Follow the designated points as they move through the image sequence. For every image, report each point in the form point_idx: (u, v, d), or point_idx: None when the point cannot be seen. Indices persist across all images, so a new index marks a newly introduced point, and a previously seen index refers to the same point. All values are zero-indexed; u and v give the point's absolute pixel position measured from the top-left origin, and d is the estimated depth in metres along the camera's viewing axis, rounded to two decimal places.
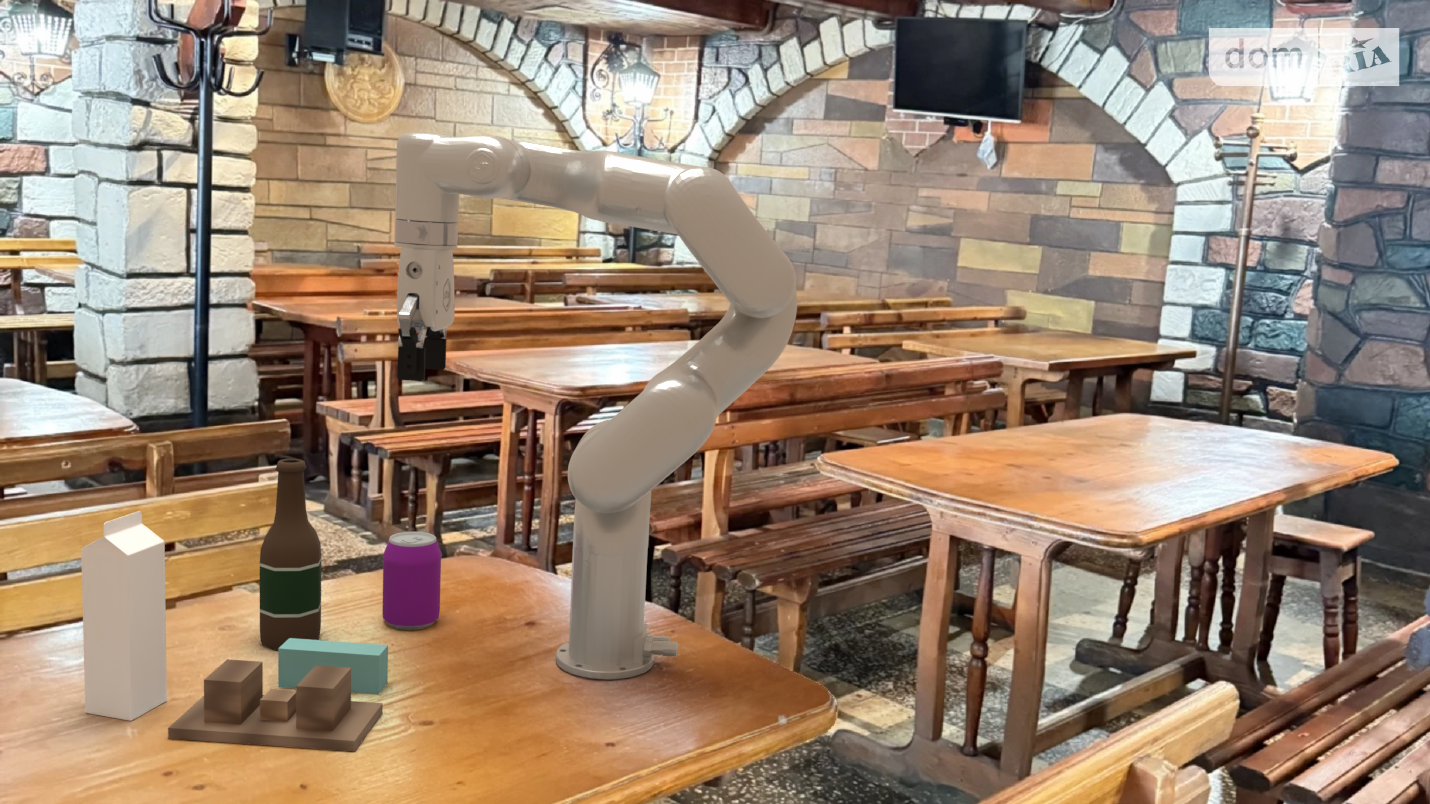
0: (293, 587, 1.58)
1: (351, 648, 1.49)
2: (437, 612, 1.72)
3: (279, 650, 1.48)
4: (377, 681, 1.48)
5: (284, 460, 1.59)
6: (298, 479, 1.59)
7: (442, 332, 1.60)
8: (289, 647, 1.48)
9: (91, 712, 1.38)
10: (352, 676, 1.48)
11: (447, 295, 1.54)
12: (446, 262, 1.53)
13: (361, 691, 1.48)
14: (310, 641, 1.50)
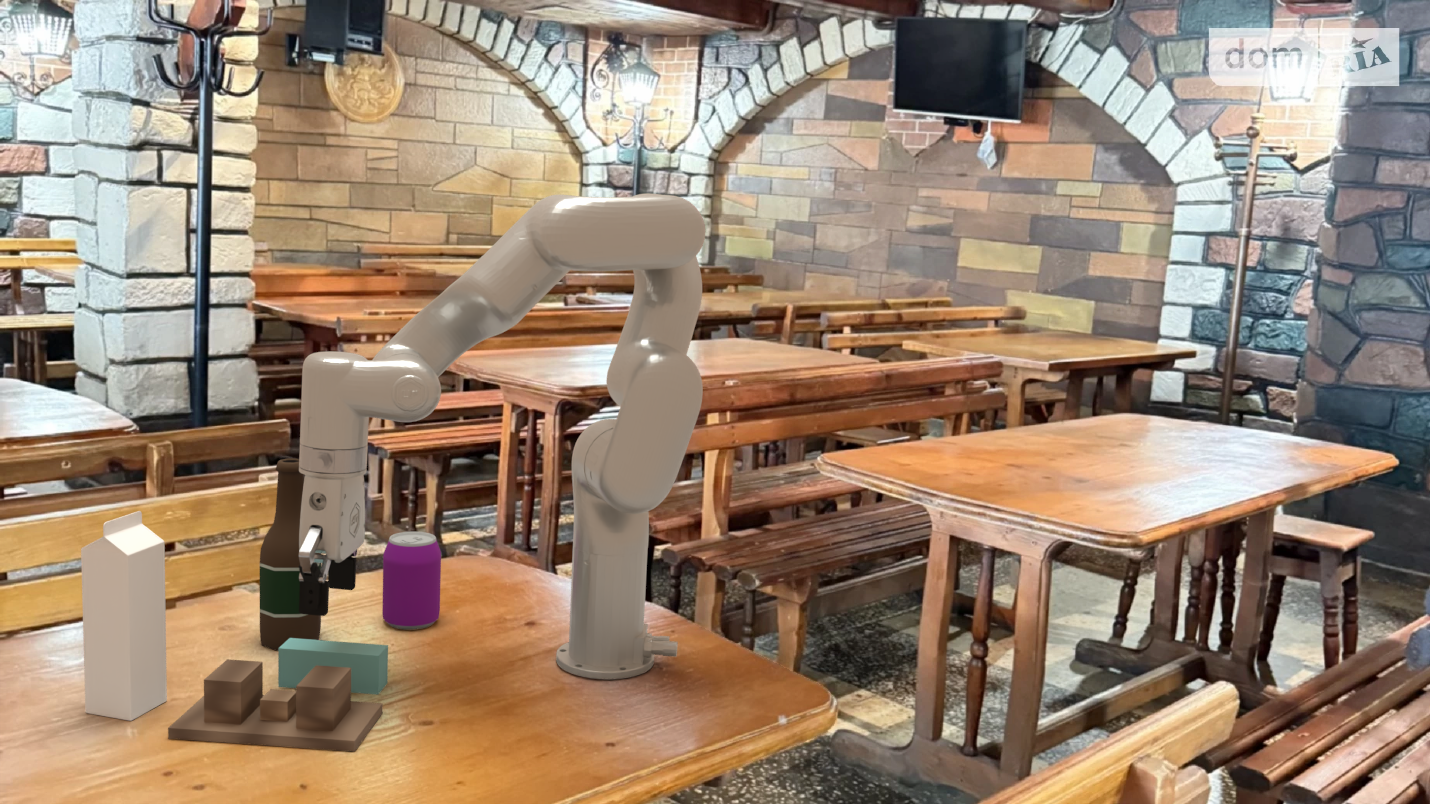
0: (293, 587, 1.58)
1: (351, 648, 1.49)
2: (437, 612, 1.72)
3: (279, 650, 1.48)
4: (377, 681, 1.48)
5: (284, 460, 1.59)
6: (298, 479, 1.59)
7: None
8: (289, 647, 1.48)
9: (91, 712, 1.38)
10: (351, 677, 1.48)
11: (355, 520, 1.46)
12: (354, 487, 1.45)
13: (361, 691, 1.48)
14: (310, 641, 1.50)
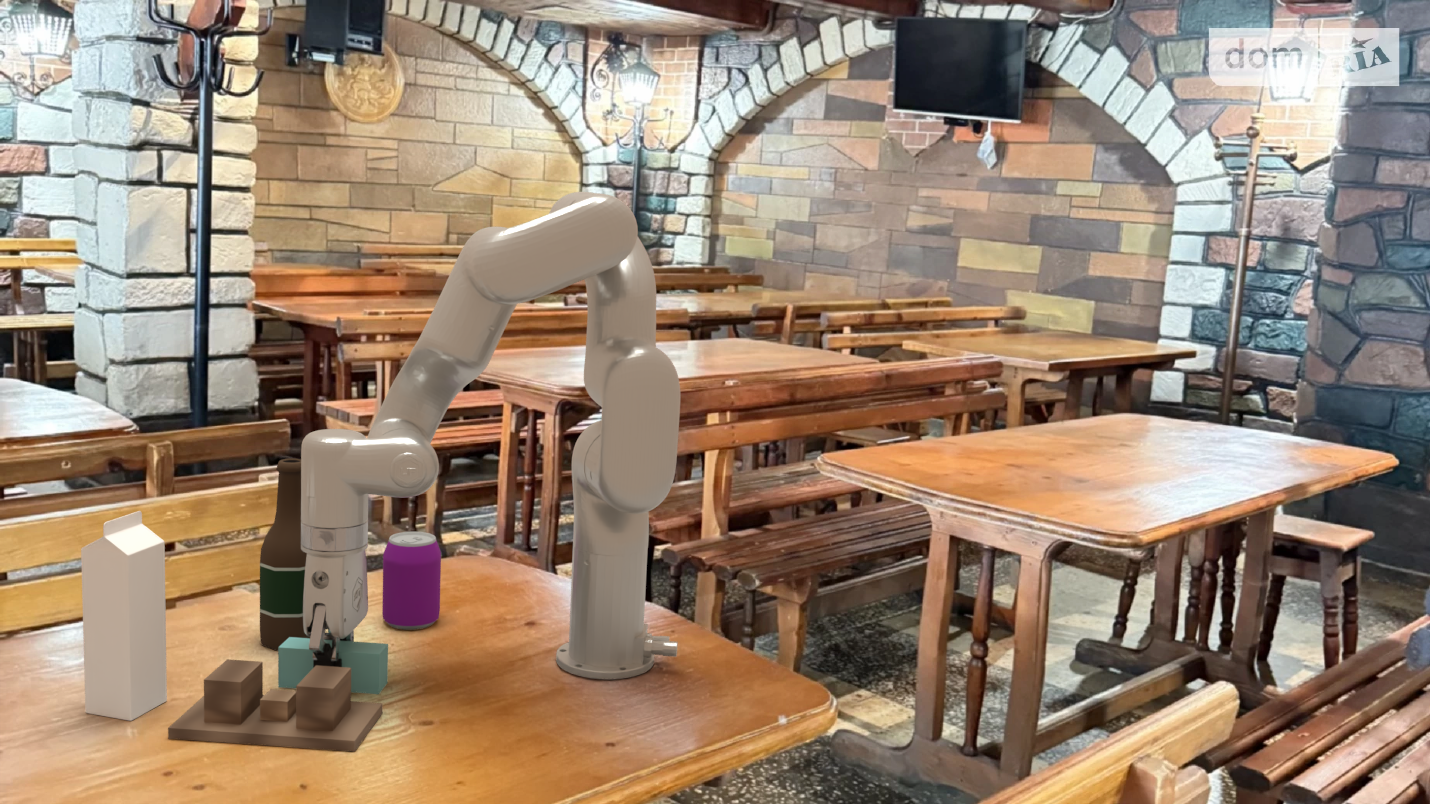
0: (293, 587, 1.58)
1: (351, 646, 1.49)
2: (437, 612, 1.72)
3: (279, 649, 1.48)
4: (377, 680, 1.48)
5: (285, 460, 1.59)
6: (299, 479, 1.59)
7: (349, 636, 1.51)
8: (289, 646, 1.48)
9: (91, 712, 1.38)
10: (352, 675, 1.48)
11: (358, 594, 1.48)
12: (355, 563, 1.47)
13: (361, 690, 1.48)
14: None
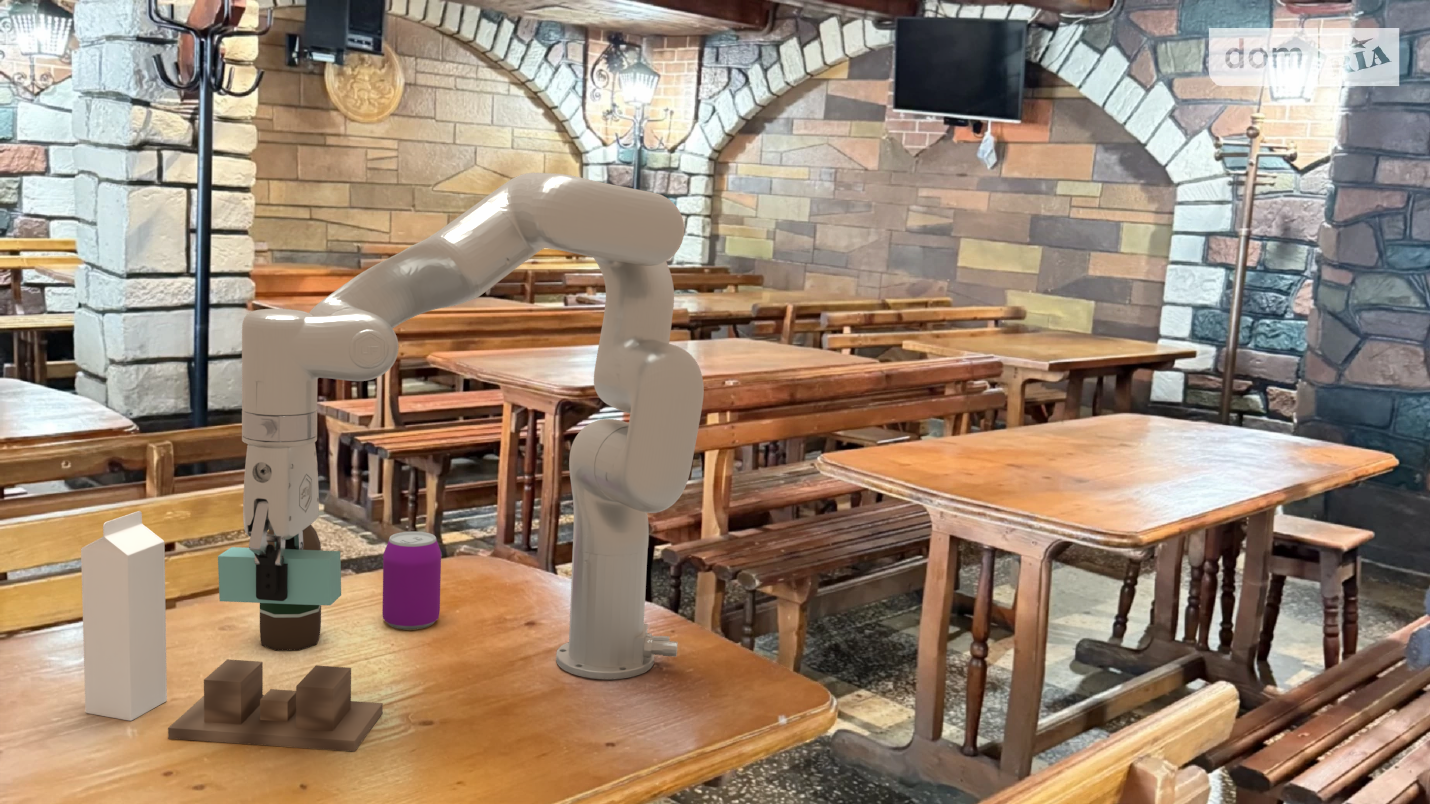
0: None
1: (298, 554, 1.35)
2: (437, 612, 1.72)
3: (219, 558, 1.34)
4: (328, 589, 1.34)
5: None
6: None
7: (297, 541, 1.37)
8: (230, 555, 1.34)
9: (91, 712, 1.38)
10: (300, 585, 1.34)
11: (306, 493, 1.34)
12: (303, 457, 1.33)
13: (311, 601, 1.34)
14: None
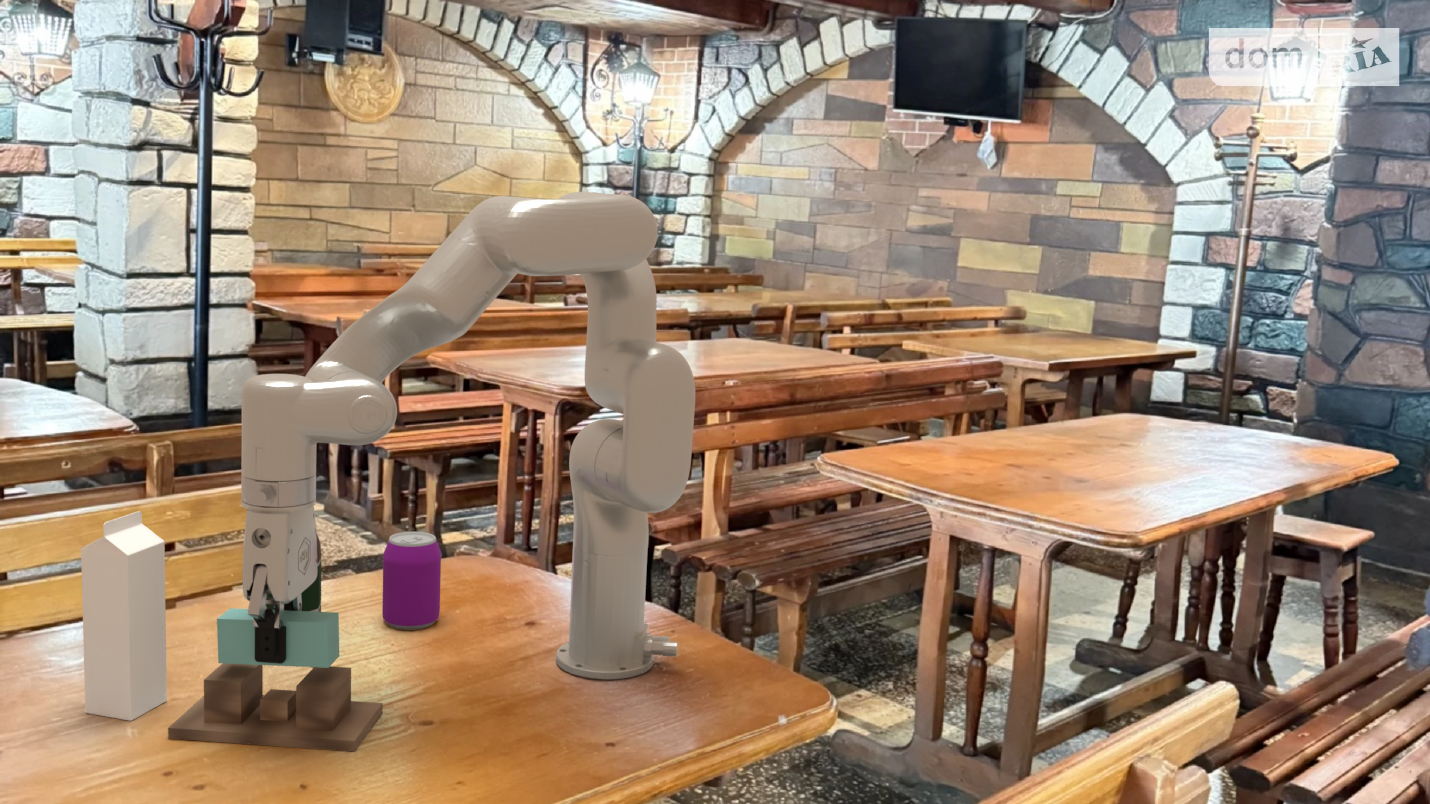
0: None
1: (297, 616, 1.36)
2: (437, 612, 1.72)
3: (218, 620, 1.34)
4: (326, 651, 1.35)
5: None
6: None
7: (296, 602, 1.38)
8: (229, 617, 1.35)
9: (91, 712, 1.38)
10: (298, 647, 1.35)
11: (304, 556, 1.35)
12: (302, 521, 1.34)
13: (309, 663, 1.35)
14: None
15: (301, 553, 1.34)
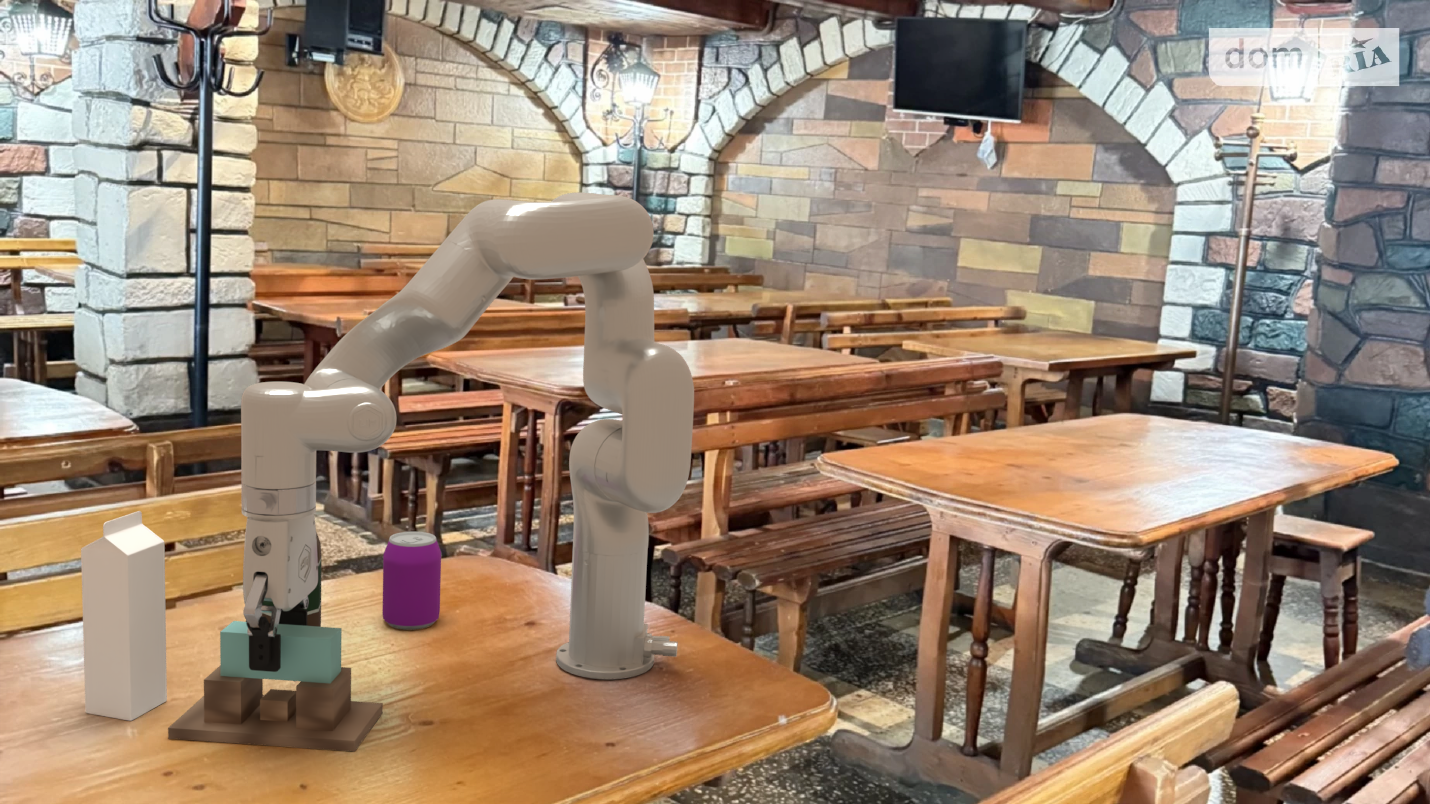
0: None
1: (300, 631, 1.36)
2: (437, 612, 1.72)
3: (221, 634, 1.35)
4: (328, 667, 1.35)
5: None
6: None
7: (302, 602, 1.40)
8: (232, 631, 1.35)
9: (91, 712, 1.38)
10: (301, 662, 1.35)
11: (305, 563, 1.35)
12: (302, 528, 1.34)
13: (311, 678, 1.35)
14: None
15: (301, 560, 1.34)
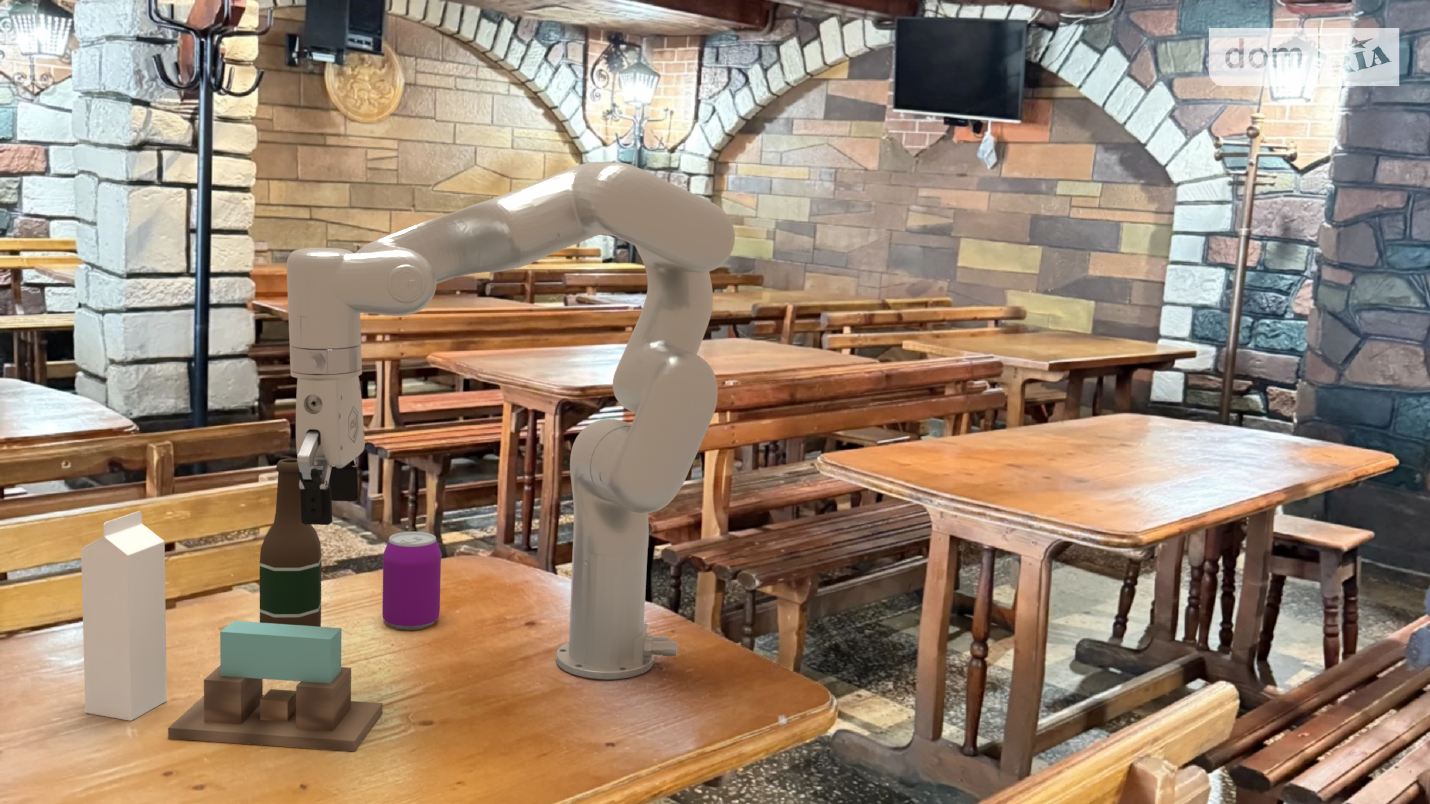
0: (293, 587, 1.58)
1: (300, 631, 1.36)
2: (437, 612, 1.72)
3: (221, 634, 1.35)
4: (328, 667, 1.35)
5: (284, 460, 1.60)
6: (299, 479, 1.59)
7: (352, 460, 1.45)
8: (232, 631, 1.35)
9: (91, 712, 1.38)
10: (301, 662, 1.35)
11: (353, 424, 1.39)
12: (350, 389, 1.38)
13: (311, 678, 1.35)
14: (256, 624, 1.38)
15: (350, 421, 1.39)
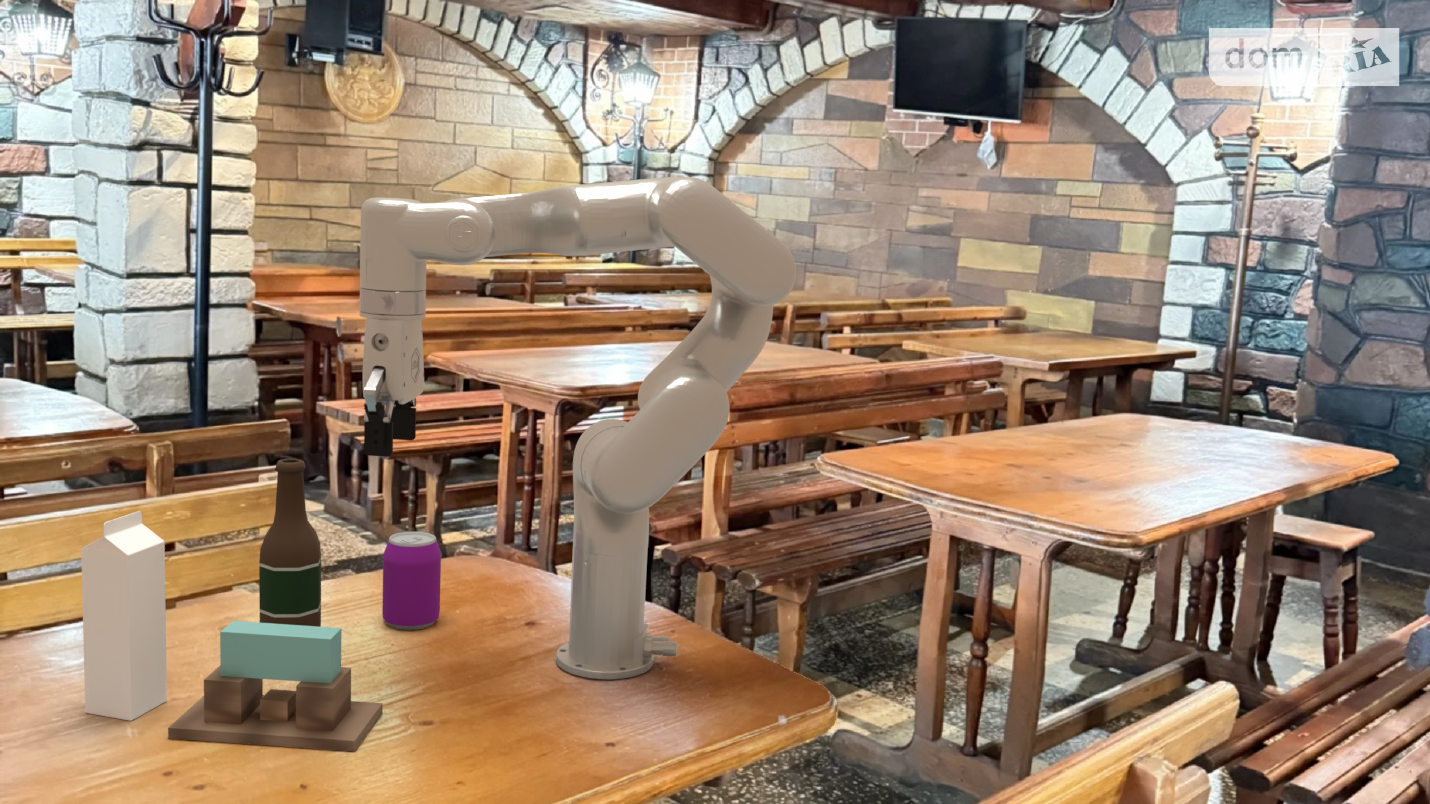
0: (292, 587, 1.58)
1: (300, 631, 1.36)
2: (437, 612, 1.72)
3: (221, 634, 1.35)
4: (328, 667, 1.35)
5: (283, 460, 1.59)
6: (298, 479, 1.59)
7: (411, 401, 1.54)
8: (232, 631, 1.35)
9: (91, 712, 1.38)
10: (301, 662, 1.35)
11: (415, 365, 1.48)
12: (414, 331, 1.47)
13: (311, 678, 1.35)
14: (256, 624, 1.38)
15: (413, 361, 1.48)
